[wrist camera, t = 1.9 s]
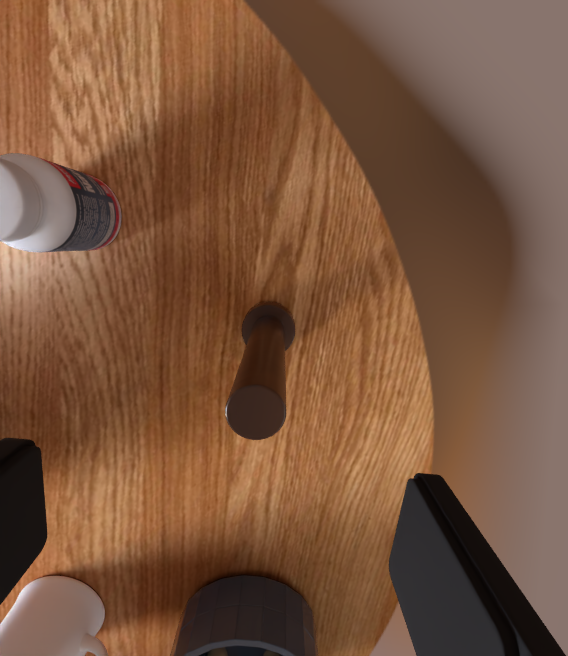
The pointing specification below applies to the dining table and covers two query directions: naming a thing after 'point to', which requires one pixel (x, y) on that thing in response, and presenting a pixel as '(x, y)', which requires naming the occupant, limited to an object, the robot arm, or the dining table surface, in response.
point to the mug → (53, 620)
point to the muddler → (261, 373)
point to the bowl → (246, 620)
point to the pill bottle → (54, 207)
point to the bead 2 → (271, 653)
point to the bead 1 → (218, 652)
